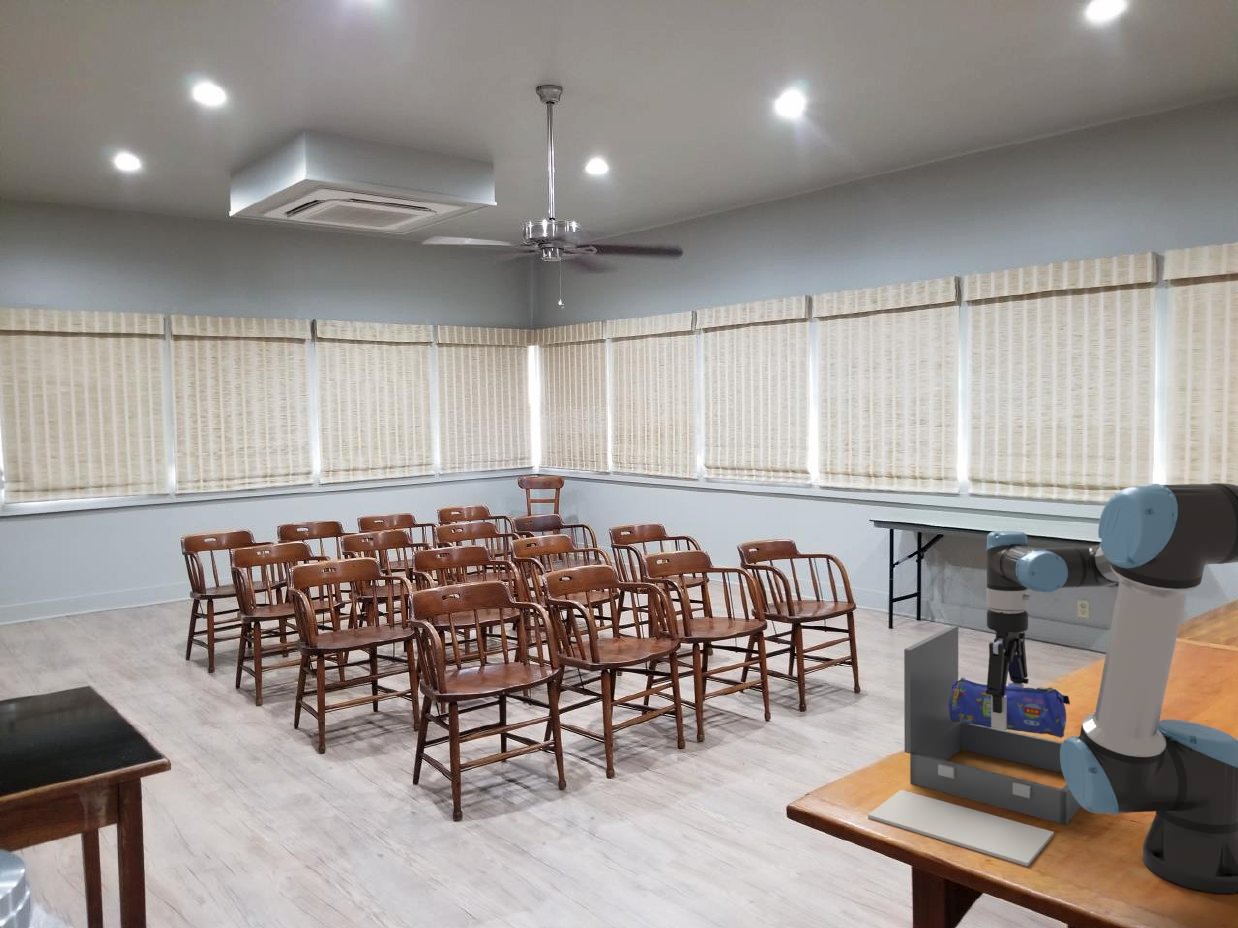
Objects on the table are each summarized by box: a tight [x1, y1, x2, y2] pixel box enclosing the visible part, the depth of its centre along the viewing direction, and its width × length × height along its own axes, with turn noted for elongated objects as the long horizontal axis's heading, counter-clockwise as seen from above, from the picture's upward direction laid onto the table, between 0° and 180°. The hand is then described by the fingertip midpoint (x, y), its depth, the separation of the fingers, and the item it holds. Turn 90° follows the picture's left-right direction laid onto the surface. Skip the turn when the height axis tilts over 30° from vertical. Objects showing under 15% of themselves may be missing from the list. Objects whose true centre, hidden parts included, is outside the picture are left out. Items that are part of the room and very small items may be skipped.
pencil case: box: [948, 678, 1071, 739], centre depth 179 cm, size 22×9×10 cm, turn 61°
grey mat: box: [867, 789, 1055, 867], centre depth 161 cm, size 14×28×1 cm, turn 48°
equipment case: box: [903, 625, 1082, 826], centre depth 179 cm, size 26×30×27 cm
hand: (1007, 721), depth 179 cm, fingers closed on pencil case, 9 cm apart
